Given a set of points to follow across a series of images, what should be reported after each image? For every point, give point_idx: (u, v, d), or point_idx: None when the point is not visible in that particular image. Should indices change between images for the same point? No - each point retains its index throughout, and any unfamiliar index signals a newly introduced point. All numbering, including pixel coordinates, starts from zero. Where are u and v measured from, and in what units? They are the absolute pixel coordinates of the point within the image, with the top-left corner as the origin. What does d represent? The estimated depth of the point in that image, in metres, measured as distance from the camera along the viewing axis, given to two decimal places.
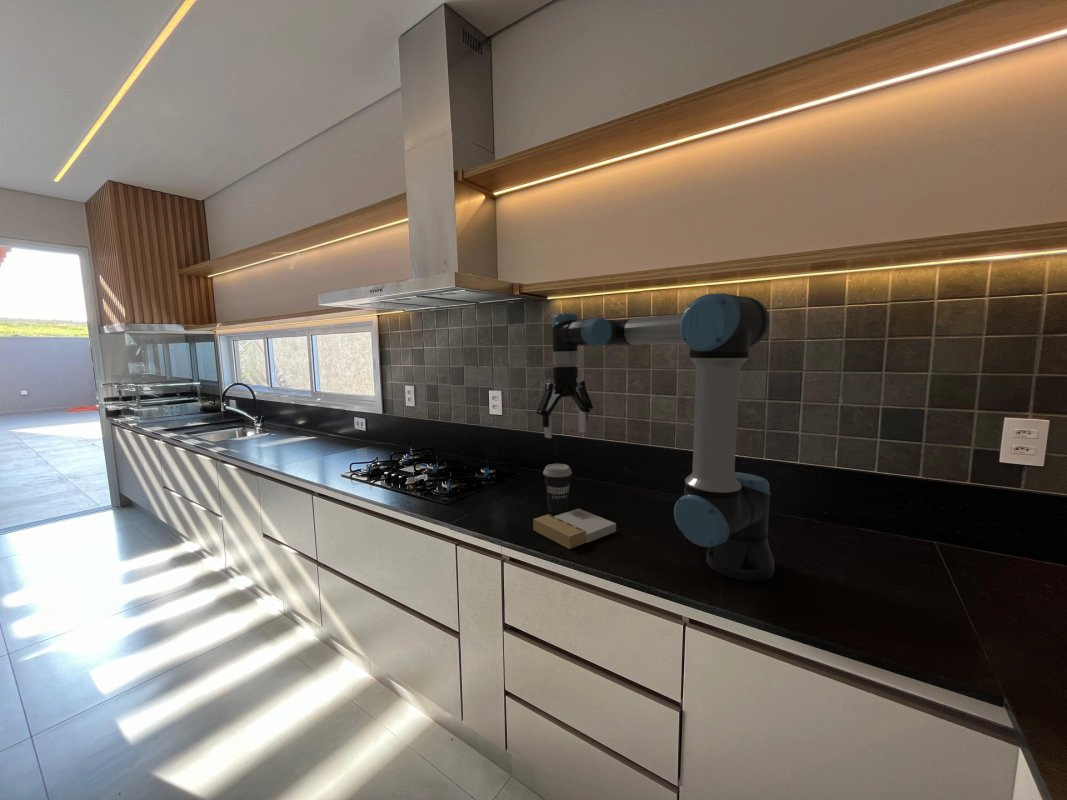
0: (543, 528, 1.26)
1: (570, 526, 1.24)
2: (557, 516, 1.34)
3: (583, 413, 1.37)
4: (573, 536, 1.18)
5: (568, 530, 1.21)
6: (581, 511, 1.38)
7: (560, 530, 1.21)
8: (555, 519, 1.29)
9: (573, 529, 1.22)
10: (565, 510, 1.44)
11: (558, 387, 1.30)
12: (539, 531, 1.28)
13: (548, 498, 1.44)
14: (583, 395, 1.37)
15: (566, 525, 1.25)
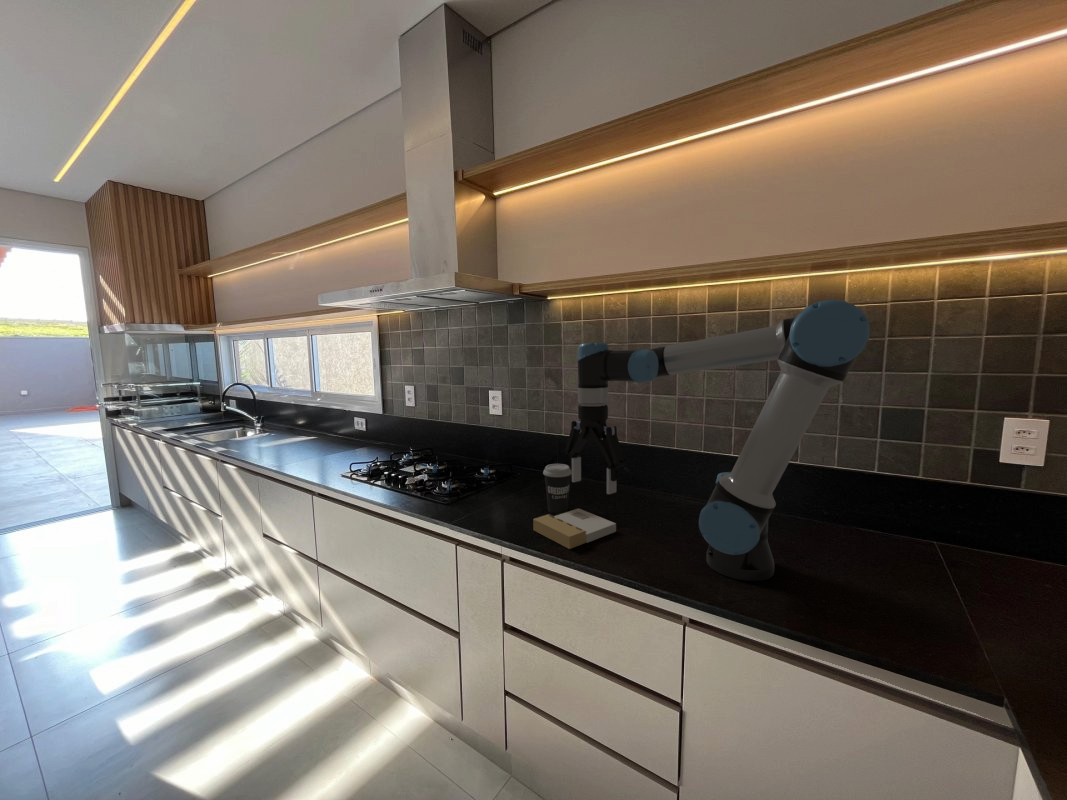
0: (543, 528, 1.26)
1: (570, 526, 1.24)
2: (557, 516, 1.34)
3: None
4: (573, 536, 1.18)
5: (568, 530, 1.21)
6: (581, 511, 1.38)
7: (560, 530, 1.21)
8: (555, 519, 1.29)
9: (573, 529, 1.22)
10: (565, 510, 1.44)
11: (580, 427, 1.13)
12: (539, 531, 1.28)
13: (548, 498, 1.44)
14: None
15: (566, 525, 1.25)
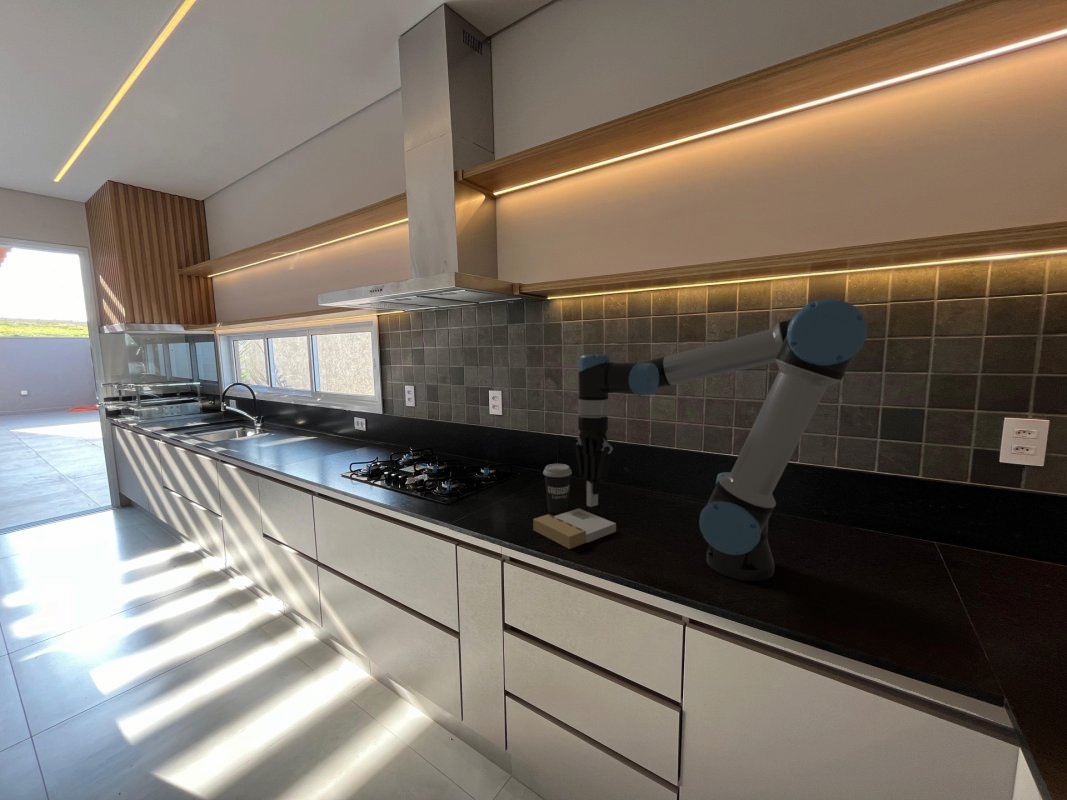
0: (543, 528, 1.26)
1: (570, 526, 1.24)
2: (557, 516, 1.34)
3: None
4: (573, 536, 1.18)
5: (568, 530, 1.21)
6: (581, 511, 1.38)
7: (560, 530, 1.21)
8: (555, 519, 1.29)
9: (573, 529, 1.22)
10: (565, 510, 1.44)
11: (581, 439, 1.13)
12: (539, 531, 1.28)
13: (548, 498, 1.44)
14: None
15: (566, 525, 1.25)
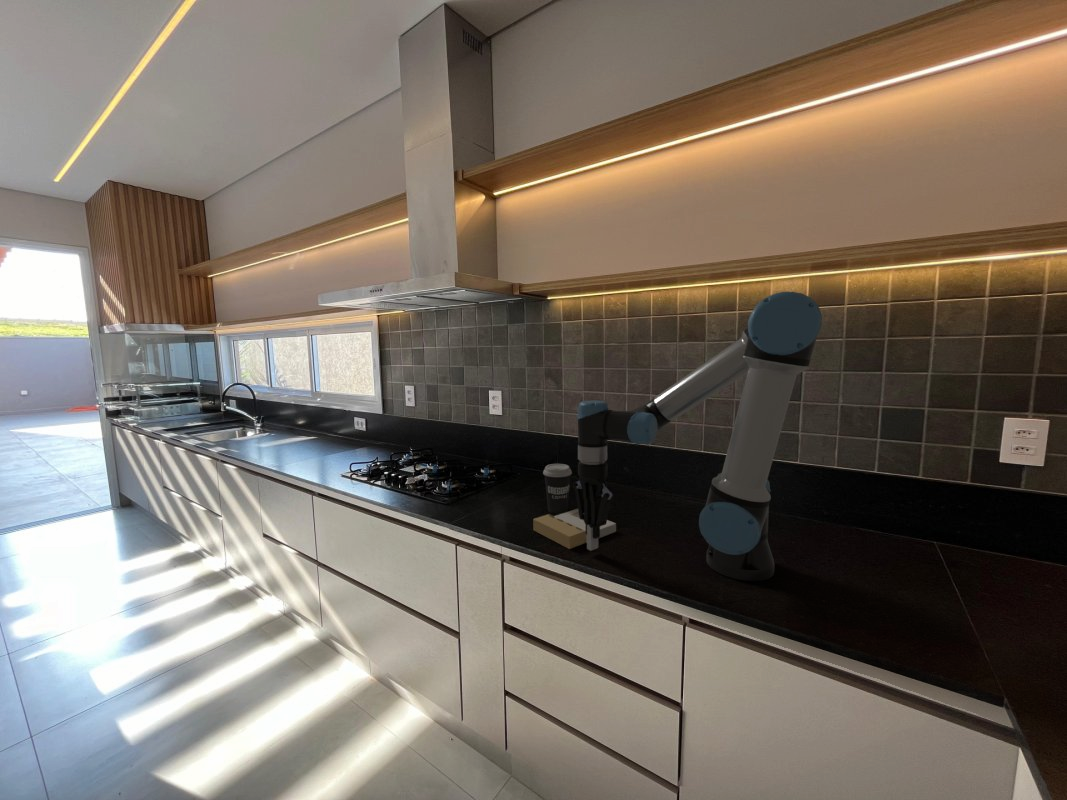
0: (543, 528, 1.26)
1: (570, 526, 1.24)
2: (557, 516, 1.34)
3: None
4: (573, 536, 1.18)
5: (568, 530, 1.21)
6: None
7: (560, 530, 1.21)
8: (555, 519, 1.29)
9: (573, 529, 1.22)
10: (565, 510, 1.44)
11: (581, 483, 1.14)
12: (539, 531, 1.28)
13: (548, 498, 1.44)
14: None
15: (566, 525, 1.25)
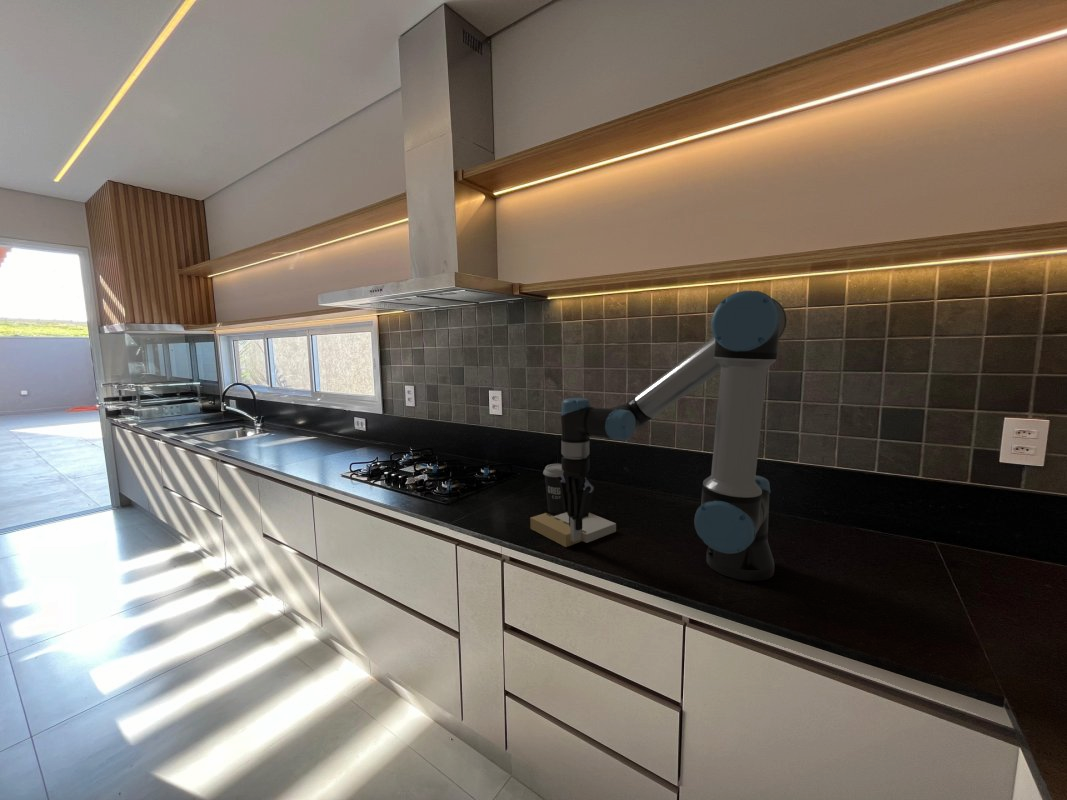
0: (540, 526, 1.27)
1: (567, 524, 1.25)
2: (557, 516, 1.34)
3: None
4: None
5: (564, 528, 1.23)
6: None
7: (556, 528, 1.23)
8: (552, 518, 1.30)
9: None
10: None
11: (565, 477, 1.19)
12: (536, 529, 1.29)
13: (548, 498, 1.44)
14: None
15: (563, 523, 1.26)
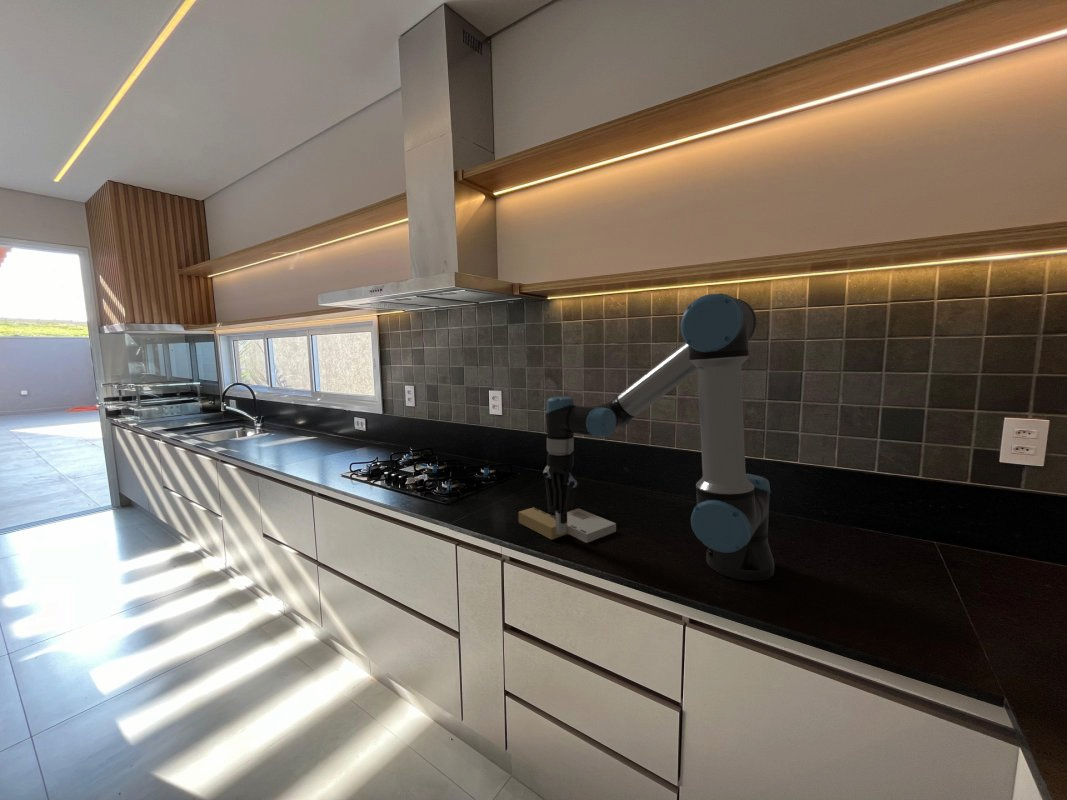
0: (528, 520, 1.32)
1: (553, 518, 1.30)
2: None
3: None
4: (555, 527, 1.24)
5: (550, 521, 1.27)
6: (581, 511, 1.38)
7: (543, 521, 1.27)
8: (539, 512, 1.35)
9: (555, 521, 1.28)
10: None
11: (550, 472, 1.24)
12: (524, 523, 1.34)
13: None
14: None
15: (549, 517, 1.31)
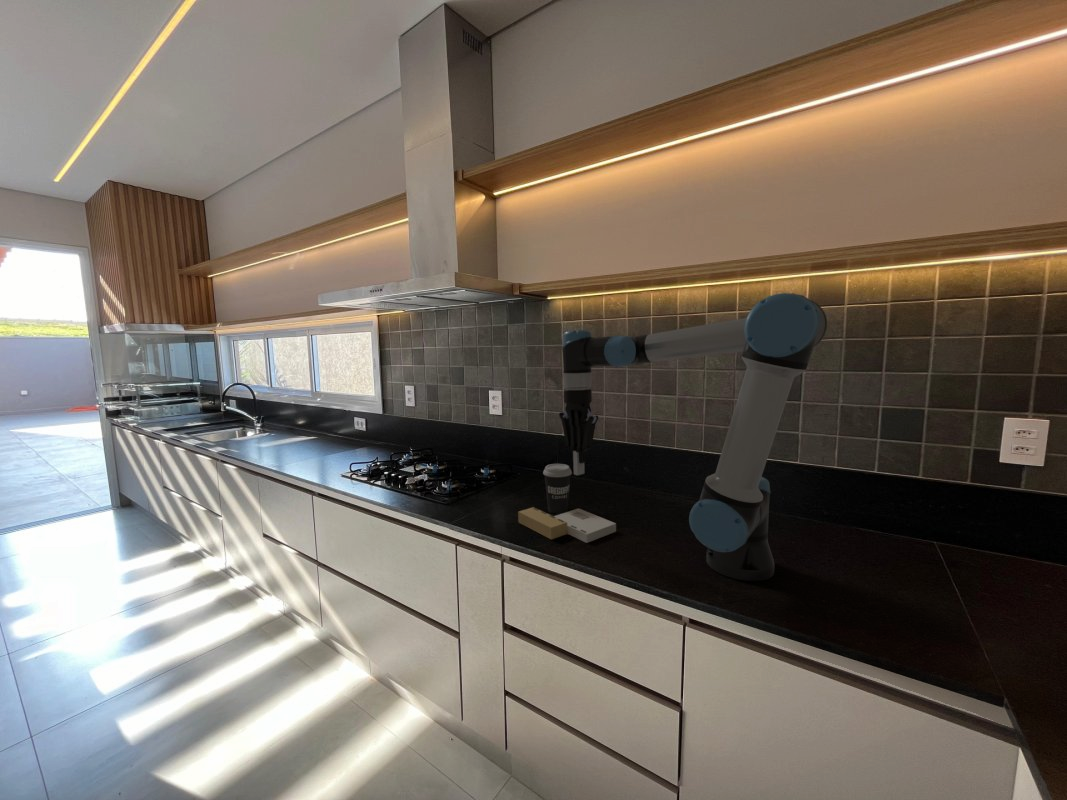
0: (527, 520, 1.32)
1: (553, 518, 1.30)
2: (557, 516, 1.34)
3: None
4: (555, 527, 1.24)
5: (550, 521, 1.28)
6: (581, 511, 1.38)
7: (542, 521, 1.28)
8: (539, 512, 1.35)
9: (555, 521, 1.28)
10: (565, 510, 1.44)
11: (567, 411, 1.20)
12: (523, 523, 1.34)
13: (548, 498, 1.44)
14: None
15: (549, 517, 1.31)
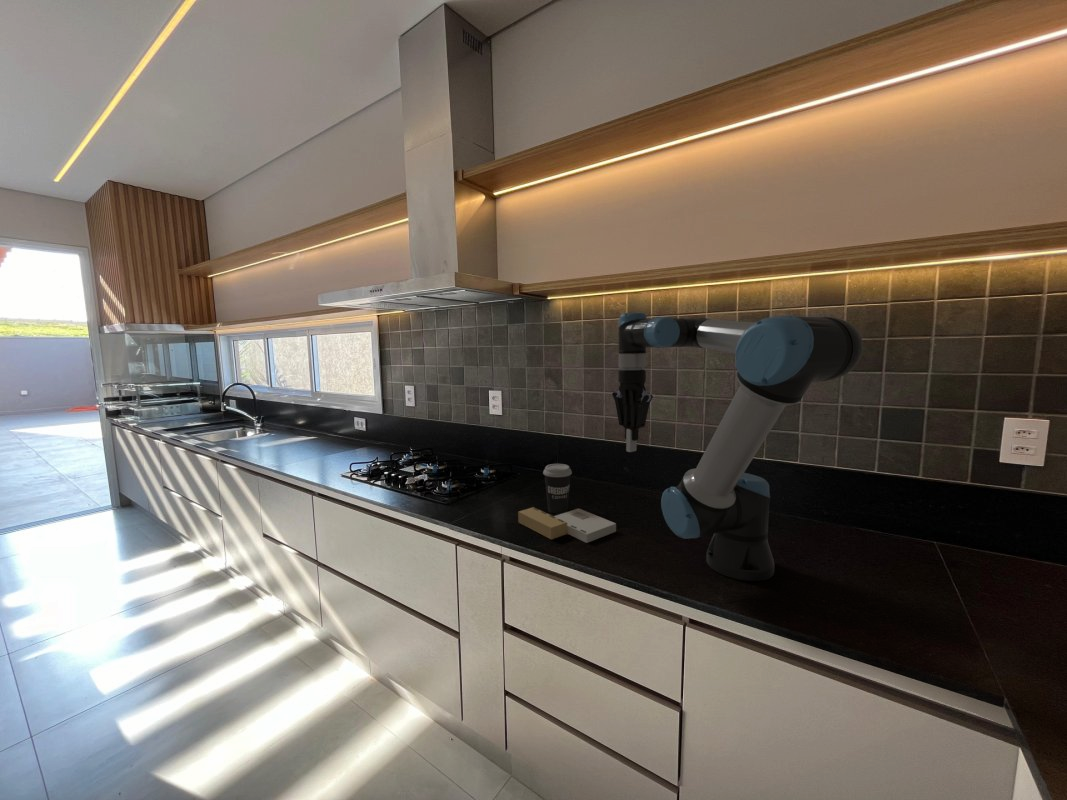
0: (527, 520, 1.32)
1: (553, 518, 1.30)
2: (557, 516, 1.34)
3: None
4: (555, 527, 1.24)
5: (550, 521, 1.28)
6: (581, 511, 1.38)
7: (542, 521, 1.28)
8: (539, 512, 1.35)
9: (555, 521, 1.28)
10: (565, 510, 1.44)
11: (621, 391, 1.25)
12: (523, 523, 1.34)
13: (548, 498, 1.44)
14: None
15: (549, 517, 1.31)
